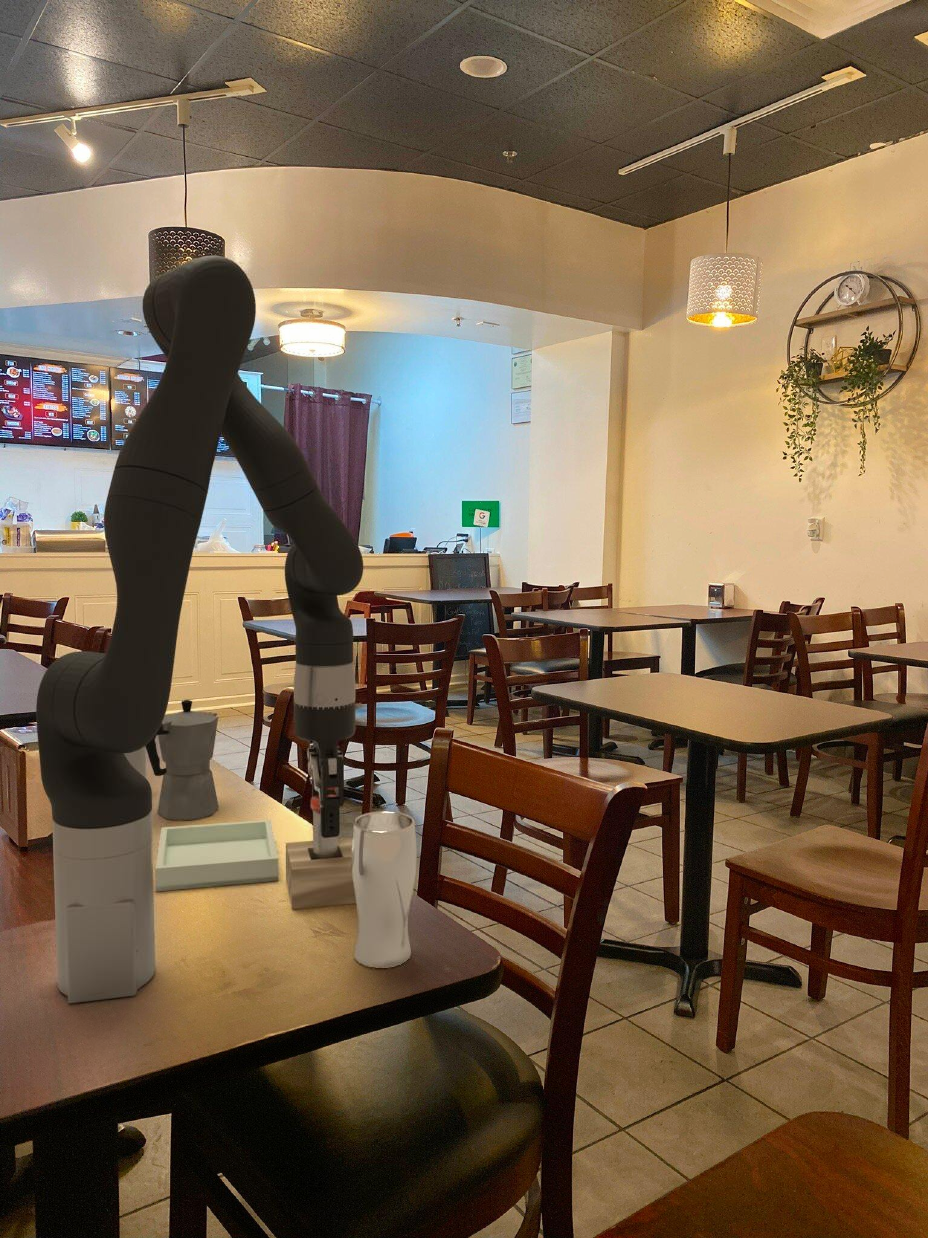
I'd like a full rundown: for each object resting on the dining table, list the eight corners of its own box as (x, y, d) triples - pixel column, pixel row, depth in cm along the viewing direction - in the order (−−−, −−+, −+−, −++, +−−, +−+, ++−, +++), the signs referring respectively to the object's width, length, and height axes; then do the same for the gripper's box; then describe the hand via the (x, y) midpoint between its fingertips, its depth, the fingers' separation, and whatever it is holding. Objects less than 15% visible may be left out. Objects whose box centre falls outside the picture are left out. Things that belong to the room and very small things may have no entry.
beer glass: (343, 945, 98) (344, 814, 96) (404, 936, 100) (406, 808, 99) (359, 976, 91) (360, 836, 90) (423, 965, 94) (425, 828, 92)
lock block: (366, 902, 109) (366, 863, 108) (292, 909, 106) (292, 869, 106) (354, 873, 117) (355, 837, 117) (286, 880, 115) (285, 842, 114)
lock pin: (341, 895, 111) (341, 802, 109) (312, 898, 110) (312, 804, 108) (337, 883, 114) (337, 793, 113) (309, 886, 113) (309, 795, 112)
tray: (278, 880, 115) (278, 858, 114) (155, 891, 111) (155, 868, 110) (270, 839, 129) (270, 819, 129) (162, 848, 125) (161, 827, 125)
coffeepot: (194, 795, 148) (192, 690, 146) (239, 804, 144) (238, 695, 142) (123, 823, 134) (120, 707, 132) (171, 834, 131) (169, 714, 128)
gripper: (364, 709, 104) (364, 842, 106) (346, 685, 117) (346, 803, 119) (300, 712, 101) (301, 848, 103) (288, 687, 115) (289, 808, 117)
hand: (325, 824), depth 111 cm, fingers open, 8 cm apart
